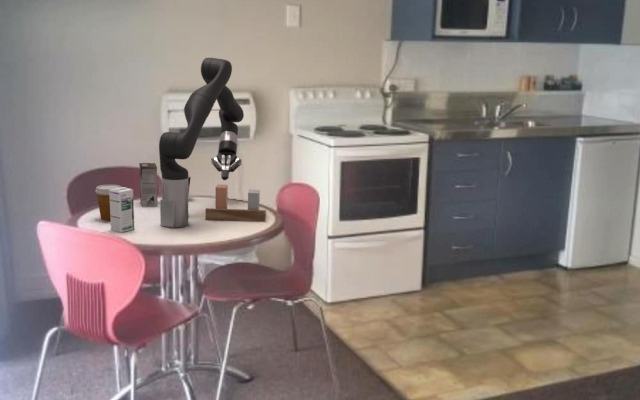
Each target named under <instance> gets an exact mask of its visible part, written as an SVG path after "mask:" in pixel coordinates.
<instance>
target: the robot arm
mask: <svg viewBox="0 0 640 400" xmlns="http://www.w3.org/2000/svg"><path fill="white" fill-rule="evenodd" d="M232 65H233V64H232V63H231V61H229V60H227V59H224V58H216V57H205V58H204V59H203V60H202V62H201V65H200V74H201V77H202V79H203V81H204V83H205V84H203V86H200V87H199V88H198V89H197V88H196V90H194V91H193V92H192V93H191V94H190V95H189V97H188V99H187V101H186V103H185V104H184V108H183V112H184V113H183V114H184V118H185V120H186V124H187V126H186V129H185V130H184V131H183V132H172V131H165V132H163V133H162V134H161V136H160V137H159V141H158V150H159V151H158V152H159V153H158V155H159V167H160V168H159V169H160V172H161V199H160V200H159V205H160V206H159V207H160V208H159V209H160V210H159V212H160V216H159V217H160V219H159V220H160V226H162V227H166V228H171V229H176V228H184V227H187V226H188V225H189V196H188V175H189V170H188V169H187V168H185V167H184V166H182V165H180V164H179V163H178V162H177V161H176V160H187V159H188V158H189V157H190V156H191V155H192V153H193V151H194V149H195V147H196V144H197V141H198V138H199V136H200V133H201V130H202V129H203V126H204V124H205V123H206V121H207V119H208V118H209V115H210V113H211V111H212V109H213V107H214V105H215V103H216V101H217V104H218V106H219V109H218V110H219V111H218V117H219V121H220V128H221V129H220V137H219V142H218V149H217V150H218V151H217V155H216V156H215V157H214V158H213V157H211V158H210V159H211V161H210V162H211V165H213V167H214V168H215V170H216V171H217V172H219V173H220V172H221V173H220V174H221V176H220V178H221V179H222V180H223V181H227V180H228V179H229V175H230V173H233V172H235V171H236V170H237V169H238V168H239V167H240V166H242V159H241V158H240V159H239V158H238V156H237V153H238V152H237V149H238V134H239V133H238V132H239V127H238V125H237V124H236V123H240V122H242V120H244V117H245V116H244V115H245V114H244V110H243V108H242V106H241V105H240V104H239V103H238V102H237V101H236V100H235V97H234V94H233V92H232V91H231V89H230V88H229V87H228V86H227V85H228V82H229V81H230V78H231V76H232V73H233V66H232Z"/></svg>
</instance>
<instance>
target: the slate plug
mask: <svg viewBox="0 0 640 400" xmlns="http://www.w3.org/2000/svg"><path fill="white" fill-rule="evenodd" d="M260 193H261V190H260V189H248V192H247V210H260V195H261V194H260Z"/></svg>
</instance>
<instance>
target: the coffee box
mask: <svg viewBox="0 0 640 400" xmlns="http://www.w3.org/2000/svg"><path fill="white" fill-rule="evenodd" d="M139 193H140V195H139V196H140V199H139V200H140V205H141V208H143V207H144V208H145V207H147V208H148V207H150V208H151V207H152V208H153V207H158V167H157V164H156V163H155V162H140V163H139Z"/></svg>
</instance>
